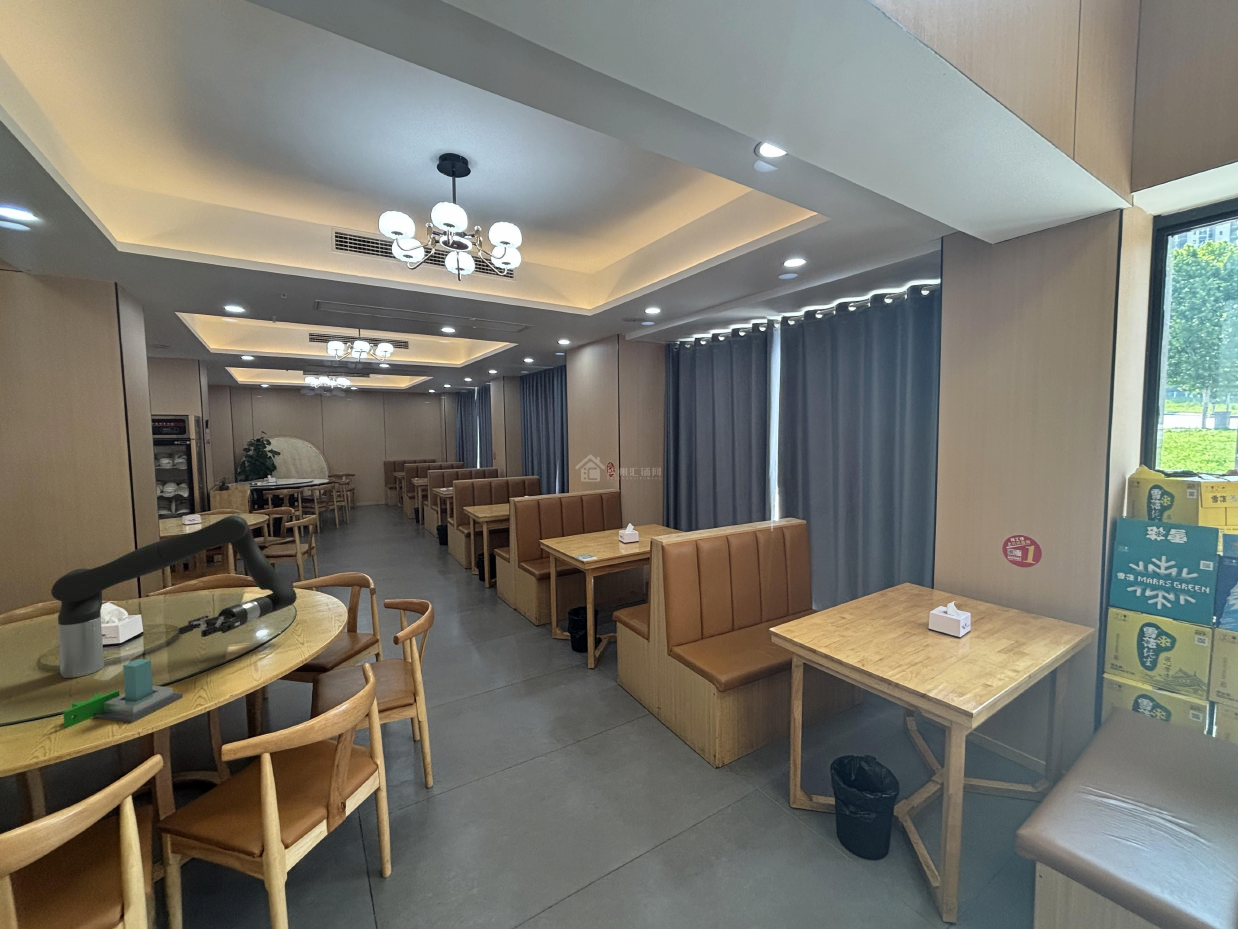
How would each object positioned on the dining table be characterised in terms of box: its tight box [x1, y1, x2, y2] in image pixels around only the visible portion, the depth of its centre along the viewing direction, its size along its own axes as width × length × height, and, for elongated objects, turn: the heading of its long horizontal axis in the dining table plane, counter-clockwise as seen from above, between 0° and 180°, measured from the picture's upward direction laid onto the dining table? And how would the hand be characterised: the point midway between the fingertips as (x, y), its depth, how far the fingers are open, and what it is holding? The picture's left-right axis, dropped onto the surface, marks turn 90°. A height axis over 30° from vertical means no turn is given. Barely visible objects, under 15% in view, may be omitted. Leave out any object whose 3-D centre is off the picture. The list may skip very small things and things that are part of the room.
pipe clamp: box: [63, 689, 121, 729], centre depth 135 cm, size 11×4×5 cm, turn 164°
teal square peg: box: [123, 658, 153, 702], centre depth 138 cm, size 4×4×12 cm
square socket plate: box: [92, 684, 184, 724], centre depth 139 cm, size 13×13×4 cm
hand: (190, 632), depth 153 cm, fingers open, 8 cm apart
